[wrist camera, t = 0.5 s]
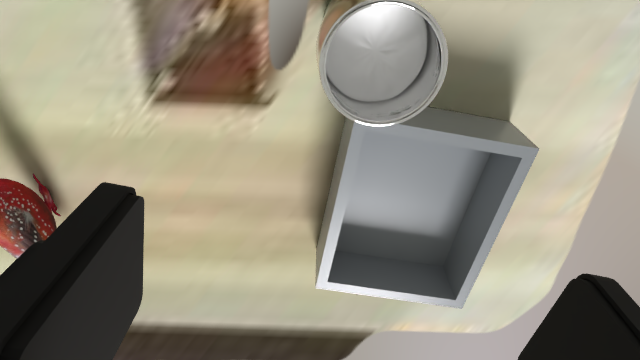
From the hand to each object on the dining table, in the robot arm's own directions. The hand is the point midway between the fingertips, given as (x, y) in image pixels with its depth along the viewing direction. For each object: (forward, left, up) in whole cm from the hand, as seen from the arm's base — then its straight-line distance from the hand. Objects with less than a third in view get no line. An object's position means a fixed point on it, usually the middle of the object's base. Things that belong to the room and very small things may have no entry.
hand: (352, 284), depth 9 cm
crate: (+13, +10, -29) cm, 34 cm away
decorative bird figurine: (+22, -25, -30) cm, 45 cm away
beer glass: (-2, +2, -30) cm, 30 cm away
